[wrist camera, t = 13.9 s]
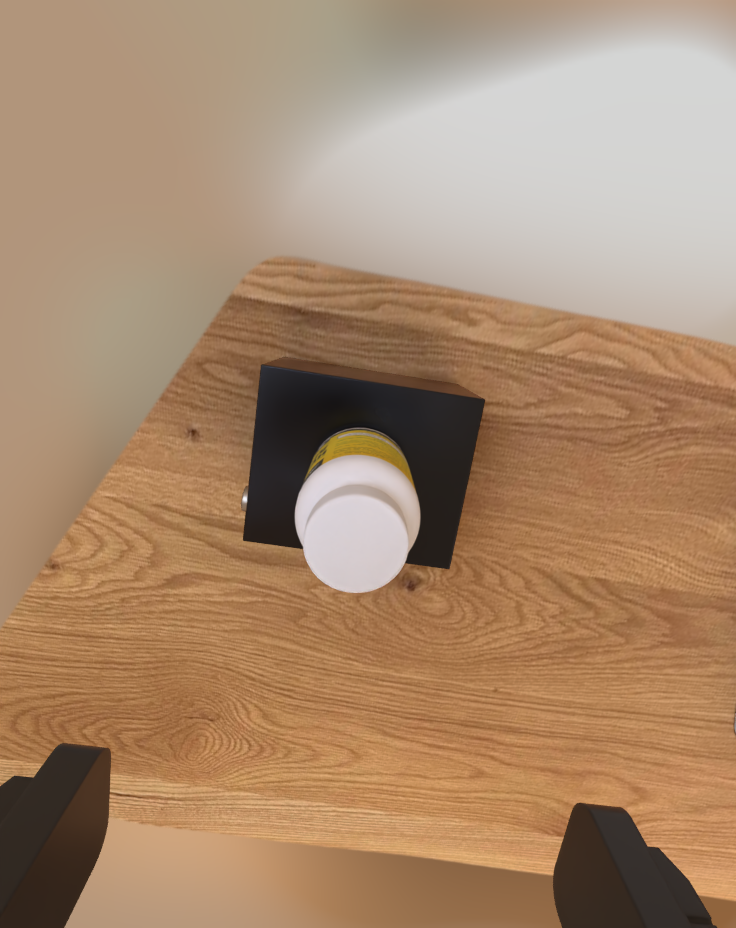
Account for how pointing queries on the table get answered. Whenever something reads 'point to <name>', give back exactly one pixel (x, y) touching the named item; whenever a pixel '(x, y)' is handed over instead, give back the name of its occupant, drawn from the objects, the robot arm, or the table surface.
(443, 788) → the table surface
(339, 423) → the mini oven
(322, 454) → the supplement bottle
